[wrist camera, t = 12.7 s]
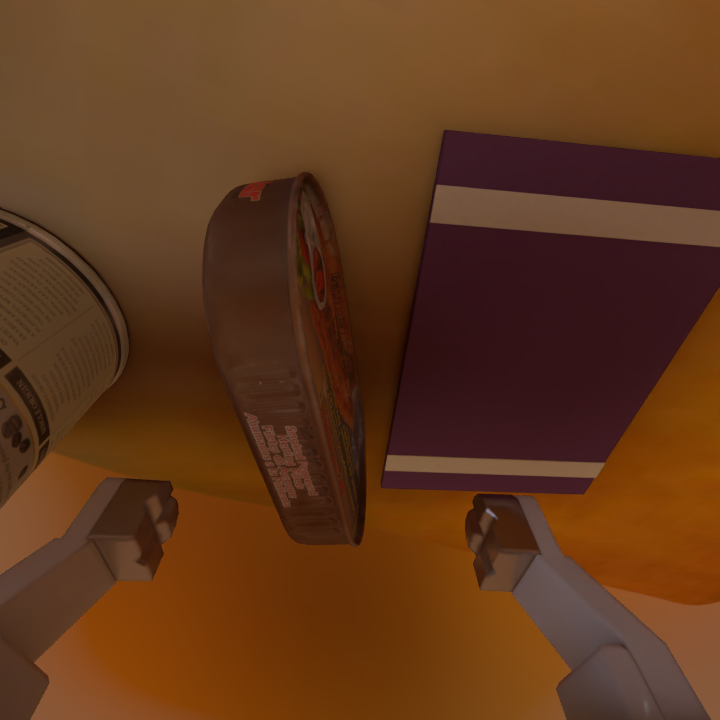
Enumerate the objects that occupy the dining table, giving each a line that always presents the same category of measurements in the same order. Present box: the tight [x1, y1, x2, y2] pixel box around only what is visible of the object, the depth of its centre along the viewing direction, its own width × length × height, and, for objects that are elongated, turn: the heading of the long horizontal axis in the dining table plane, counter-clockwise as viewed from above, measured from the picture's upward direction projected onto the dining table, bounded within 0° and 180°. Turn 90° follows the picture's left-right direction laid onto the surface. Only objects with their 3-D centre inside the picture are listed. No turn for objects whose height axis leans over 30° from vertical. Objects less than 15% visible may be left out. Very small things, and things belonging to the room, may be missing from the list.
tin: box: [202, 172, 366, 547], centre depth 15 cm, size 15×3×8 cm, turn 7°
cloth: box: [381, 130, 720, 494], centre depth 19 cm, size 14×20×1 cm
